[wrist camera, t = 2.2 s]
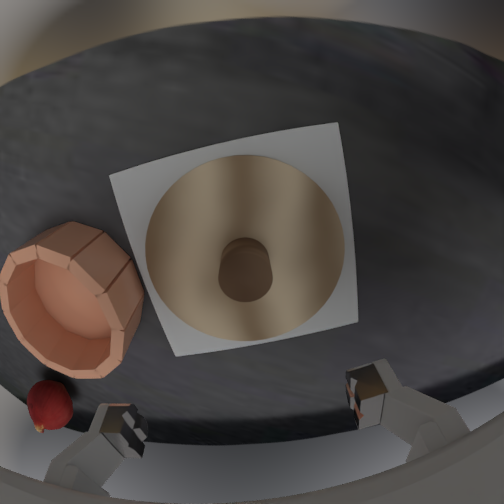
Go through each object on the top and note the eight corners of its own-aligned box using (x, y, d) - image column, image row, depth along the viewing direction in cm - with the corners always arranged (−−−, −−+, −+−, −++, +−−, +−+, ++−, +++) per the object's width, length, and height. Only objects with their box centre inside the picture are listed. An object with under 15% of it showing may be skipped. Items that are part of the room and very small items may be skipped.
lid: (326, 137, 20) (344, 139, 16) (347, 315, 25) (360, 341, 22) (123, 184, 21) (102, 195, 17) (182, 347, 26) (175, 375, 23)
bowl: (114, 207, 22) (81, 228, 16) (162, 333, 26) (148, 375, 21) (16, 241, 22) (-19, 264, 17) (65, 344, 27) (43, 378, 22)
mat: (336, 122, 20) (337, 122, 19) (356, 319, 26) (358, 321, 26) (111, 174, 21) (109, 175, 20) (176, 353, 27) (175, 356, 27)
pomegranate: (52, 395, 30) (30, 438, 23) (35, 363, 28) (6, 407, 21) (87, 403, 30) (67, 451, 23) (71, 370, 28) (44, 420, 21)
